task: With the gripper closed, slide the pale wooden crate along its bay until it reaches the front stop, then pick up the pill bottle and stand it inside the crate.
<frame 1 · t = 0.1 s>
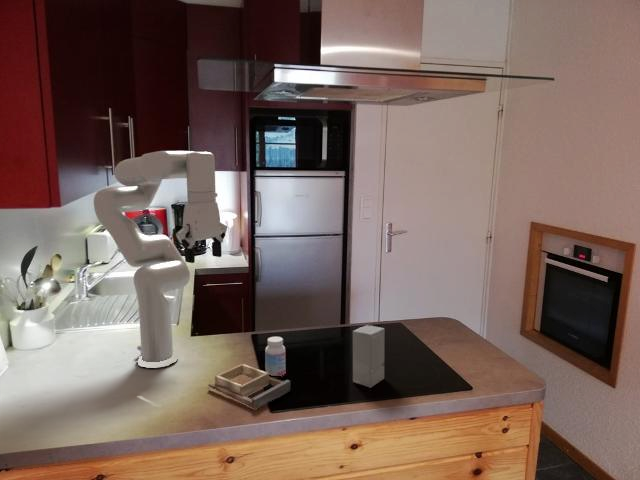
hand: (203, 259, 142), 37 cm above the counter, tool pointing down, fingers open, 9 cm apart
skincare box: (368, 380, 150), on the counter
bay: (249, 392, 142), on the counter
crate: (242, 381, 143), point 3 cm above the counter, slide at 5.0 cm
pill bottle: (275, 375, 153), on the counter
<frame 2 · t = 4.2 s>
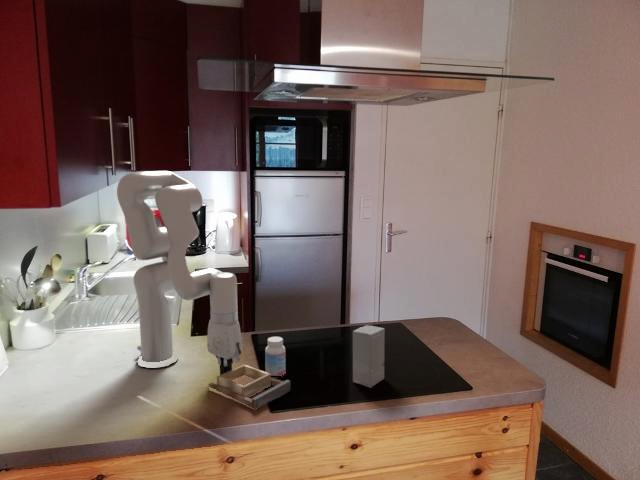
hand: (226, 376, 147), 2 cm above the counter, tool pointing down, fingers closed
crate: (244, 381, 143), point 3 cm above the counter, slide at 4.2 cm, touching gripper
everything else where it was.
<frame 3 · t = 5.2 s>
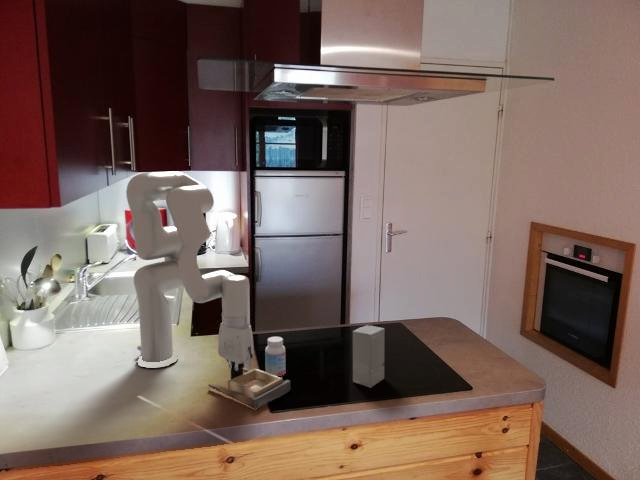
hand: (236, 381, 145), 2 cm above the counter, tool pointing down, fingers closed
crate: (255, 386, 140), point 3 cm above the counter, slide at -0.2 cm, touching gripper
everything else where it was.
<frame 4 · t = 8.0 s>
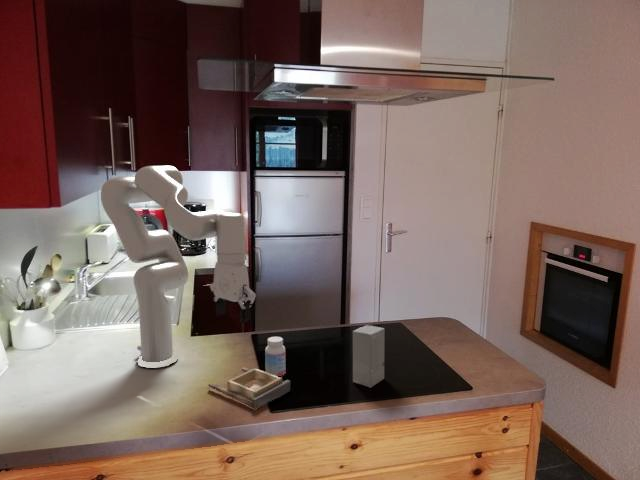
hand: (232, 318, 142), 20 cm above the counter, tool pointing down, fingers open, 9 cm apart
crate: (255, 386, 140), point 3 cm above the counter, slide at 0.0 cm
everything else where it was.
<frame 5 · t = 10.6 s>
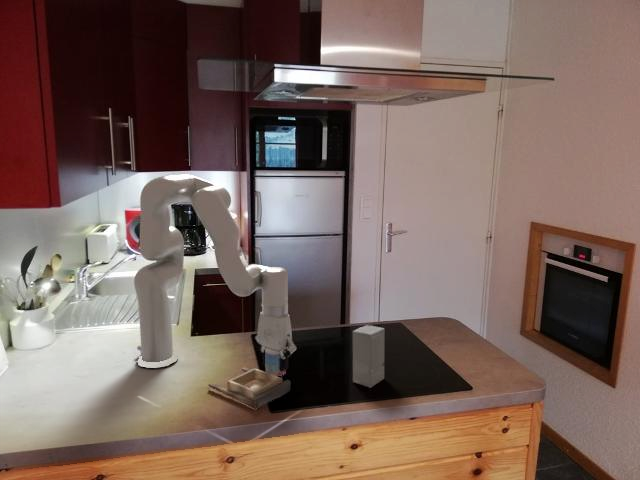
hand: (275, 366, 153), 3 cm above the counter, tool pointing down, fingers closed on pill bottle, 6 cm apart
pill bottle: (275, 375, 153), on the counter, touching gripper
everything else where it was.
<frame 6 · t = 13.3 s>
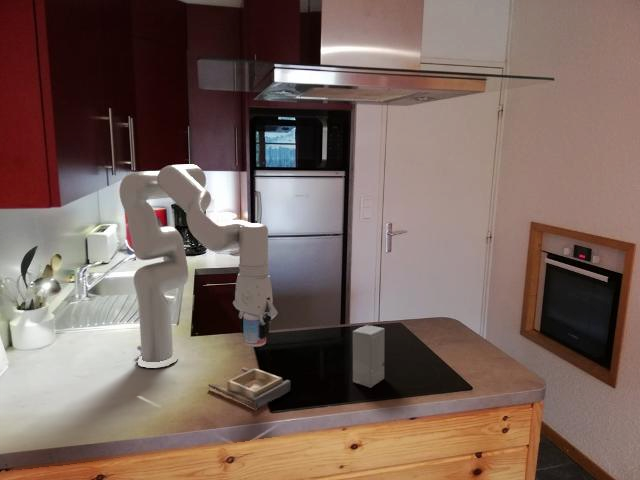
hand: (254, 334, 138), 17 cm above the counter, tool pointing down, fingers closed on pill bottle, 6 cm apart
pill bottle: (255, 343, 139), point 15 cm above the counter, touching gripper
everything else where it was.
when the fingers open (5 cm above the counter, at t = 16.2 s): pill bottle stays where it is, resting on crate.
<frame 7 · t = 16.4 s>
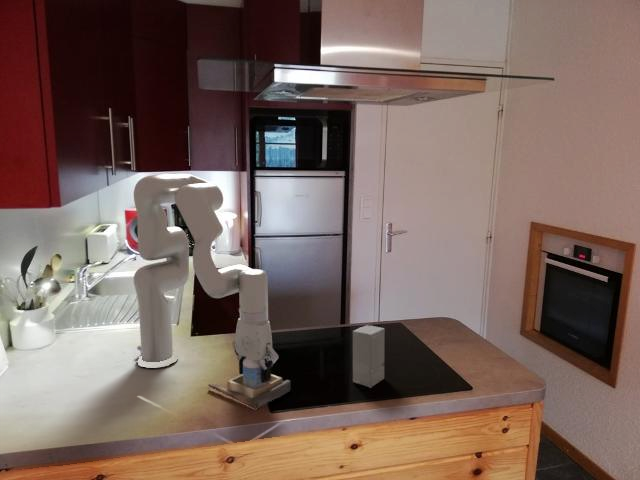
hand: (254, 376, 140), 5 cm above the counter, tool pointing down, fingers open, 7 cm apart
crate: (255, 386, 140), point 3 cm above the counter, slide at 0.0 cm, touching pill bottle
pill bottle: (254, 390, 141), point 1 cm above the counter, touching crate
everything else where it was.
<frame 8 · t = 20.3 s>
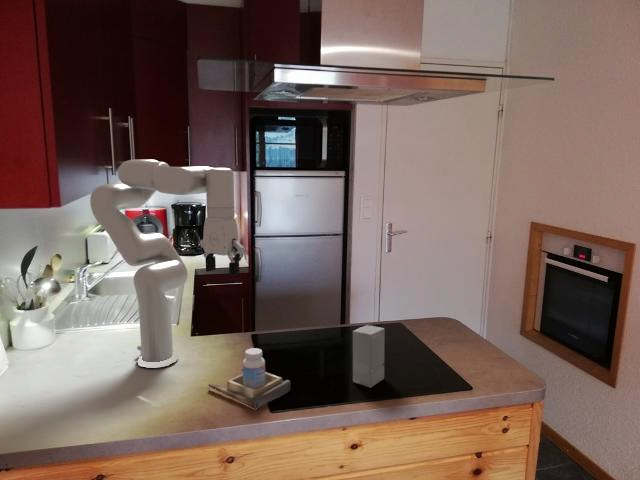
hand: (222, 273, 144), 32 cm above the counter, tool pointing down, fingers open, 9 cm apart
nothing on the counter moved.
at the end: crate slide at 0.0 cm; pill bottle 0.3 cm off-centre on the crate, point 0.6 cm above the crate's base; pill bottle tilted 0° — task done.
